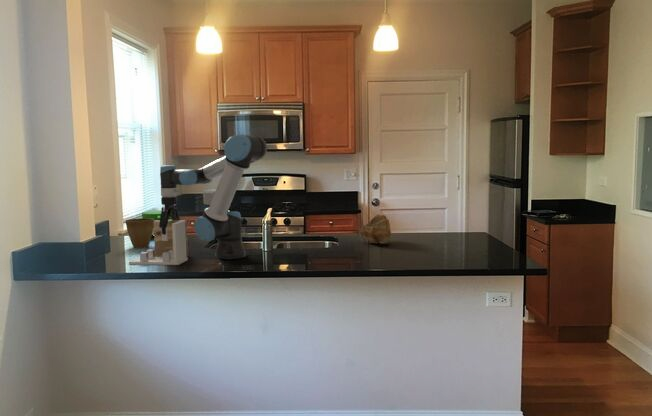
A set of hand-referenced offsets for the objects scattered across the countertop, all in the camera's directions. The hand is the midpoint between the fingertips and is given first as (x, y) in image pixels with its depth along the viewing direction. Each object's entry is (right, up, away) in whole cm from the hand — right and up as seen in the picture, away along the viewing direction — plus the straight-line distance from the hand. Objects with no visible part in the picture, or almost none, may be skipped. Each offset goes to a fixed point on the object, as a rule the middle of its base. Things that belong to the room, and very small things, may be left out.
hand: (170, 238), depth 268 cm
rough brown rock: (+106, -4, +34) cm, 111 cm away
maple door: (0, -9, +1) cm, 9 cm away
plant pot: (-24, -7, +26) cm, 36 cm away
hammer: (+12, -4, +50) cm, 52 cm away
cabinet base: (-1, -10, -14) cm, 17 cm away
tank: (-26, -4, +58) cm, 64 cm away
